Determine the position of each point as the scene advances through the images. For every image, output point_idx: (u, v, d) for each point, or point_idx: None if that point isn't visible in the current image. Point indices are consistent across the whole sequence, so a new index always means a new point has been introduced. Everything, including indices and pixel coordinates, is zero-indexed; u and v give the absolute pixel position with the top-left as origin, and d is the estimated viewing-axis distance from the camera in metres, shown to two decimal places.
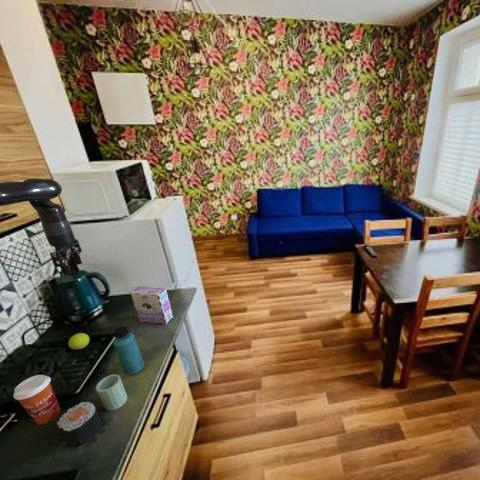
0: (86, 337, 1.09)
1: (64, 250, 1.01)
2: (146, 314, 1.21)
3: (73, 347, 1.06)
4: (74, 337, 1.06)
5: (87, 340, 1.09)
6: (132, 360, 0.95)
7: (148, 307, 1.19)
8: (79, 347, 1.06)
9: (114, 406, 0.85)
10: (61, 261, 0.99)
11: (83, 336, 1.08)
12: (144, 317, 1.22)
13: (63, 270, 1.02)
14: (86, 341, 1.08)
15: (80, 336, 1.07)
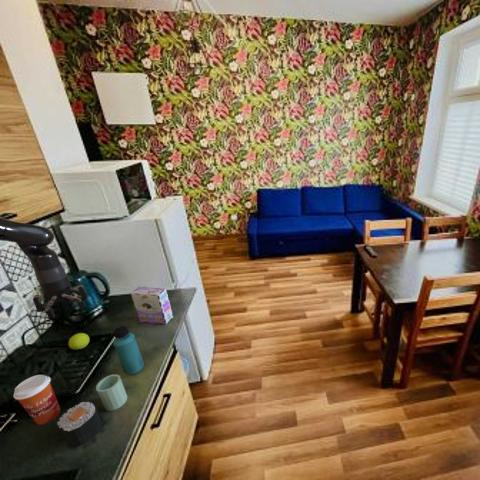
0: (86, 337, 1.09)
1: (49, 296, 0.98)
2: (146, 314, 1.21)
3: (73, 347, 1.06)
4: (74, 337, 1.06)
5: (87, 340, 1.09)
6: (132, 360, 0.95)
7: (148, 307, 1.19)
8: (79, 347, 1.06)
9: (114, 406, 0.85)
10: (37, 307, 0.97)
11: (83, 336, 1.08)
12: (144, 317, 1.22)
13: None
14: (86, 341, 1.08)
15: (80, 336, 1.07)
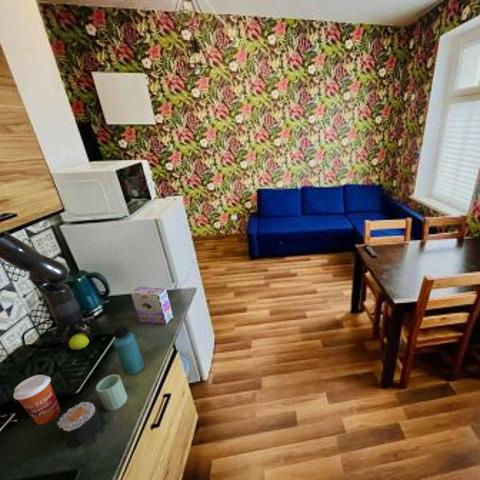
0: (86, 337, 1.09)
1: (62, 328, 1.03)
2: (146, 314, 1.21)
3: (73, 347, 1.06)
4: (74, 337, 1.06)
5: (87, 340, 1.09)
6: (132, 360, 0.95)
7: (148, 307, 1.19)
8: (79, 347, 1.06)
9: (114, 406, 0.85)
10: (53, 339, 1.02)
11: (83, 336, 1.08)
12: (144, 317, 1.22)
13: None
14: (86, 341, 1.08)
15: (80, 336, 1.07)
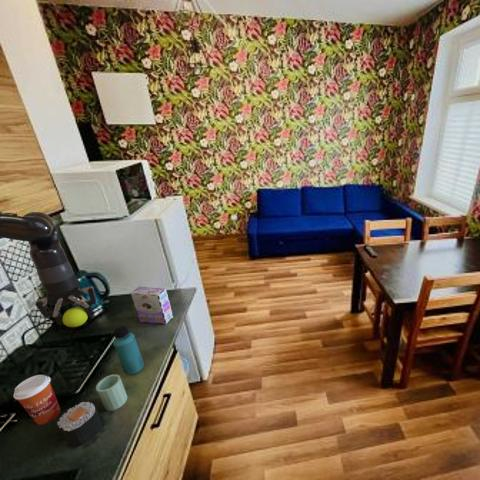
0: (84, 312, 0.88)
1: (53, 299, 0.82)
2: (146, 314, 1.21)
3: (68, 323, 0.85)
4: (69, 311, 0.86)
5: (85, 315, 0.88)
6: (132, 360, 0.95)
7: (148, 307, 1.19)
8: (75, 323, 0.86)
9: (114, 406, 0.85)
10: (43, 312, 0.82)
11: (80, 310, 0.88)
12: (144, 317, 1.22)
13: None
14: (84, 316, 0.88)
15: (77, 310, 0.87)
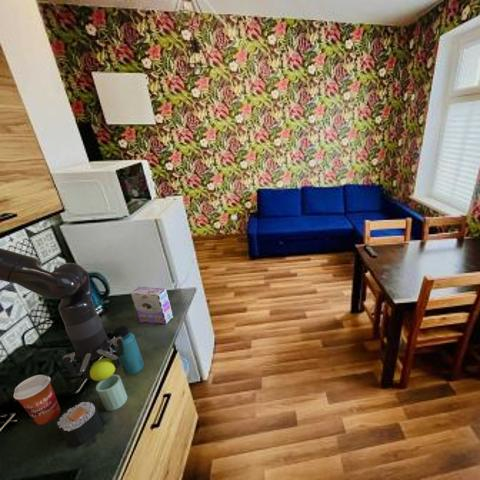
0: (112, 364, 0.83)
1: (81, 354, 0.77)
2: (146, 314, 1.21)
3: (96, 378, 0.80)
4: (97, 364, 0.80)
5: (113, 368, 0.83)
6: (132, 360, 0.95)
7: (148, 307, 1.19)
8: (103, 378, 0.81)
9: (114, 406, 0.85)
10: (70, 368, 0.76)
11: (108, 362, 0.82)
12: (144, 317, 1.22)
13: None
14: (112, 369, 0.82)
15: (105, 363, 0.81)
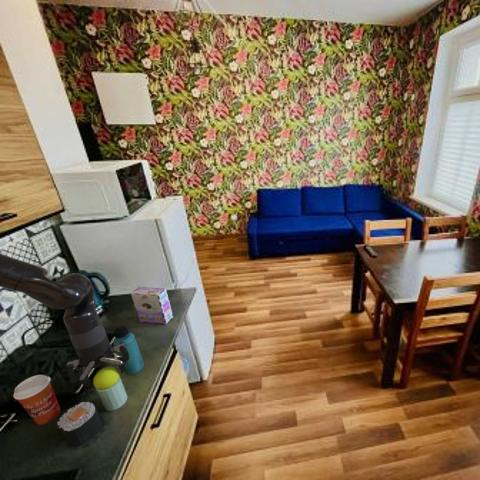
0: (115, 372, 0.84)
1: (85, 362, 0.78)
2: (146, 314, 1.21)
3: (100, 387, 0.81)
4: (101, 373, 0.82)
5: (117, 376, 0.84)
6: (132, 360, 0.95)
7: (148, 307, 1.19)
8: (107, 386, 0.82)
9: (114, 406, 0.85)
10: (71, 376, 0.77)
11: (112, 371, 0.84)
12: (144, 317, 1.22)
13: None
14: (115, 378, 0.84)
15: (108, 372, 0.83)
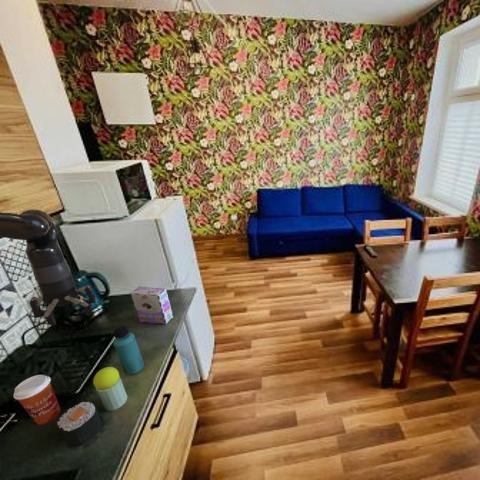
0: (115, 372, 0.84)
1: (49, 299, 0.80)
2: (146, 314, 1.21)
3: (100, 387, 0.81)
4: (101, 373, 0.82)
5: (117, 376, 0.84)
6: (132, 360, 0.95)
7: (148, 307, 1.19)
8: (107, 386, 0.82)
9: (114, 406, 0.85)
10: (35, 311, 0.79)
11: (112, 371, 0.84)
12: (144, 317, 1.22)
13: None
14: (115, 378, 0.84)
15: (108, 372, 0.83)
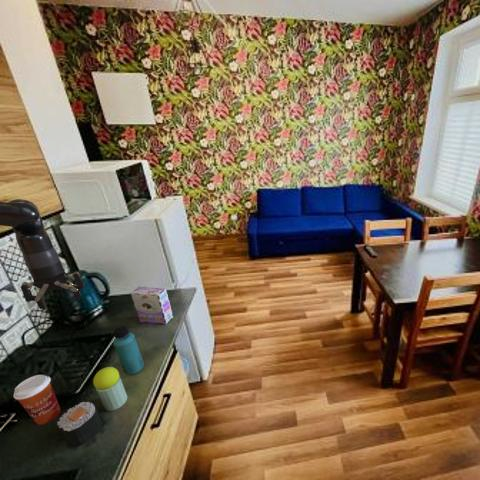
0: (115, 372, 0.84)
1: (39, 284, 0.85)
2: (146, 314, 1.21)
3: (100, 387, 0.81)
4: (101, 373, 0.82)
5: (117, 376, 0.84)
6: (132, 360, 0.95)
7: (148, 307, 1.19)
8: (107, 386, 0.82)
9: (114, 406, 0.85)
10: (26, 296, 0.84)
11: (112, 371, 0.84)
12: (144, 317, 1.22)
13: None
14: (115, 378, 0.84)
15: (108, 372, 0.83)
